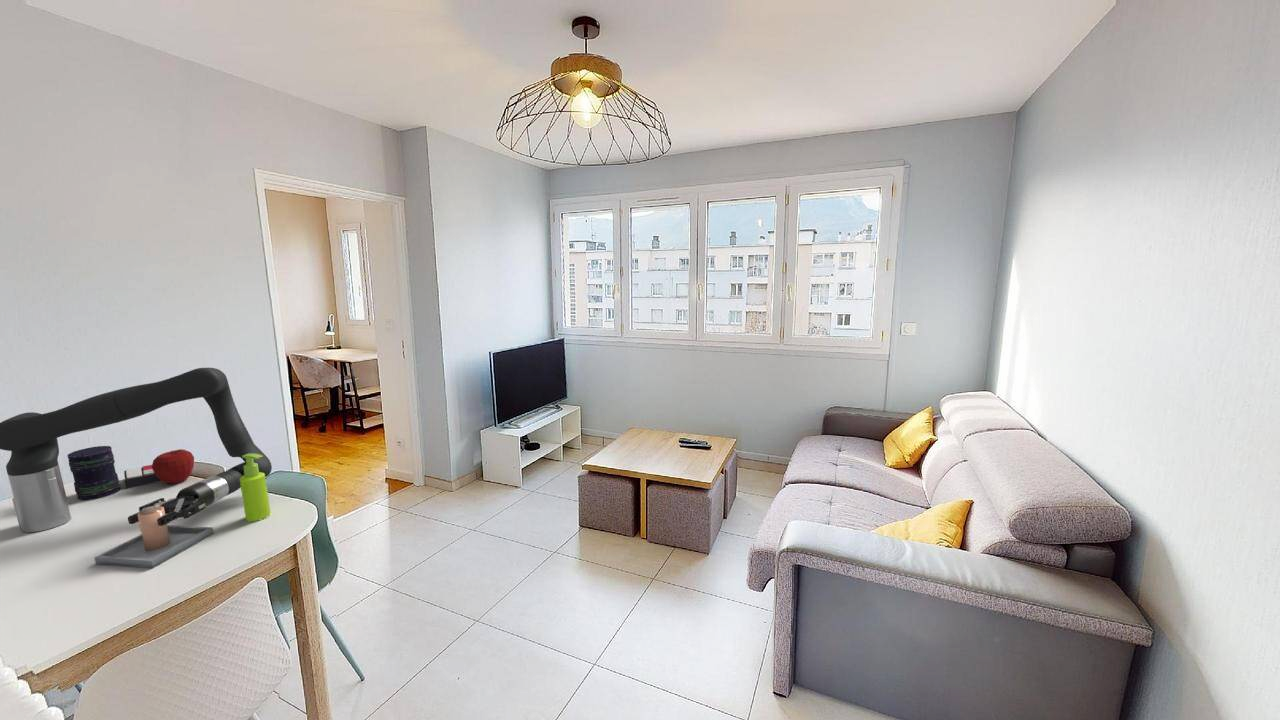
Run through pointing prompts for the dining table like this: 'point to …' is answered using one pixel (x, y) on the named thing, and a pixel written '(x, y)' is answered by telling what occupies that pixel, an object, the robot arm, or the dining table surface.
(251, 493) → the soap dispenser
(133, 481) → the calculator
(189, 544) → the tray
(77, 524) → the dining table surface
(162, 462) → the apple
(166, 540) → the cup
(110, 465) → the storage jar
